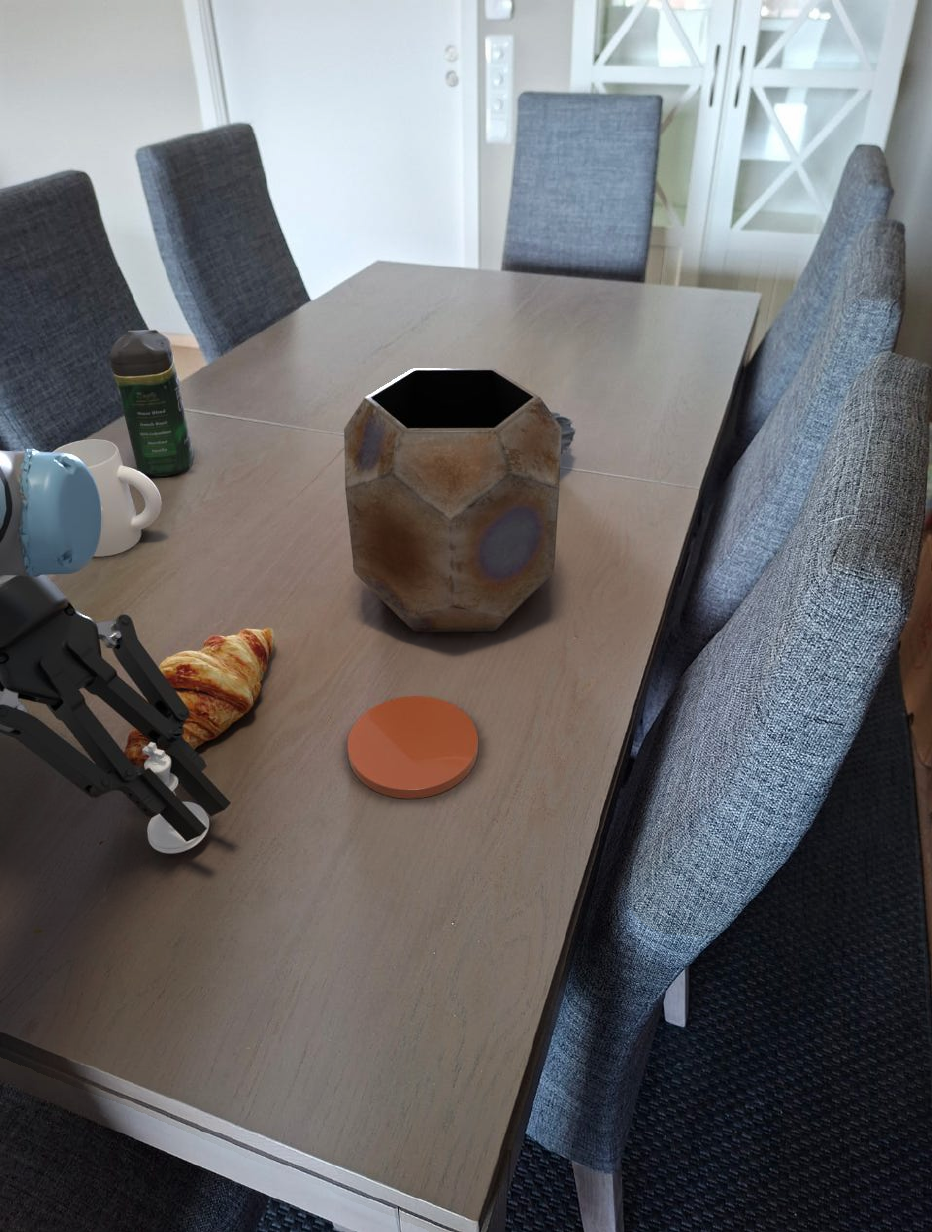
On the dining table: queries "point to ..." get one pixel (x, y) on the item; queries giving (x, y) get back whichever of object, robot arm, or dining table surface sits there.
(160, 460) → the coffee jar
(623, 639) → the dining table surface
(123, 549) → the mug
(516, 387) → the planter
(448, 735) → the orange flat disc
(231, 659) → the croissant
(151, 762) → the chess piece
